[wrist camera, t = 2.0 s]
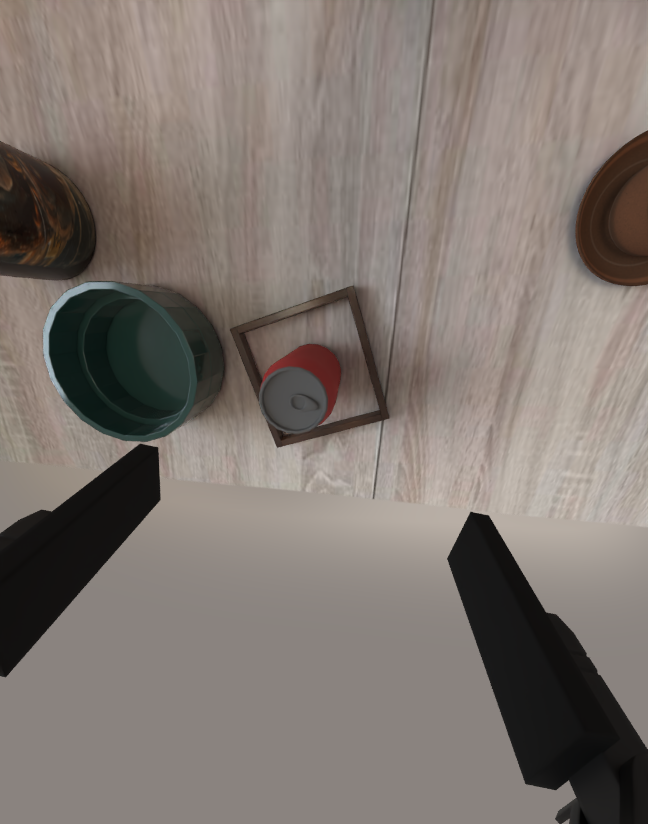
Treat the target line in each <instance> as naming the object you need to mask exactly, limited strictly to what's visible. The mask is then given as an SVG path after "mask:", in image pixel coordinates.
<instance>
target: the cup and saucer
mask: <svg viewBox="0 0 648 824" xmlns="http://www.w3.org/2000/svg"><path fill="white" fill-rule="evenodd" d="M576 243H577V247H578V251H579V254H580V256H581V258H582V260H583V262H584V264H585V265H586V266H587V268H588V269H589V270H590V271H591V272H592V273H594V274H595V275H596V276H598V277H599V278H601V279H603V280H605V281H607V282H610V283H613V284H618V285H624V286H640V285H647V284H648V131H646V132H644V133H642V134H640V135H639V136H637V137H635V138H634V139H632V140H631V141H629V142H628V143H627V144H625V145H624V146H623V147H622V148H620V149H619V150H618V151H617V152H616V153H615V154H614V155H613V156H612V157H611V158H610V159H609V160H608V161H607V162H606V163H605V164H604V165H603V166H602V168H601V169H600V170H599V171H598V173H597V174H596V175H595V177H594V178H593V180H592V181H591V183H590V185H589V186H588V188H587V190H586V192H585V194H584V197H583V199H582V201H581V204H580V207H579V211H578V215H577V221H576Z"/></svg>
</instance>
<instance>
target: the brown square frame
mask: <svg viewBox="0 0 648 824" xmlns="http://www.w3.org/2000/svg"><path fill="white" fill-rule="evenodd" d="M346 297H348V298H349V302H350V305H351V309H352V313H353V316H354V320H355V323H356V327H357V330H358V334H359V338H360V341H361V345H362V348H363V352H364V355H365V359H366V362H367V366H368V370H369V373H370V377H371V380H372V384H373V387H374V391H375V395H376V398H377V402H378V405H379V409H380V410H379V411H375V412H371V413H367V414H364V415H360V416H356V417H352V418H349V419H345V420H341V421H337V422H334V423H330V424H326V425H322V426H319V427H315V428H314V429H312V430H310V431H308V432H305V433H300V434H289V435H285V436H283V434H282V431H281V430H278V429H276V428H275V427H274V426H273V425H271V424H270V423H269V422H268V421H267V419H266V421H267V423H268V426H269V428H270V431H271V433H272V436H273V438H274V441H275V444H276V446H277V448H278V447H282V446H285V445H289V444H293V443H297V442H301V441H305V440H308V439H312V438H316V437H320V436H324V435H328V434H331V433H335V432H339V431H343V430H347V429H351V428H354V427H358V426H362V425H366V424H370V423H374V422H377V421H381V420H385V419H389V414H388V411H387V407H386V403H385V400H384V396H383V392H382V389H381V385H380V381H379V378H378V374H377V371H376V367H375V363H374V360H373V356H372V352H371V349H370V345H369V341H368V338H367V334H366V330H365V327H364V323H363V319H362V316H361V312H360V308H359V305H358V301H357V297H356V294H355V290H354V286H350V287H347V288H344V289H342V290H339V291H336V292H333V293H330V294H327V295H325V296H322V297H319V298H316V299H313V300H310V301H308V302H305V303H302V304H299V305H296V306H293V307H291V308H288V309H285V310H282V311H279V312H276V313H274V314H271V315H268V316H265V317H262V318H259V319H257V320H254V321H251V322H248V323H245V324H243V325H240V326H237V327H234V328H231V329H230V331H231V333H232V336H233V338H234V341H235V343H236V346H237V348H238V351H239V353H240V356H241V358H242V361H243V363H244V366H245V368H246V371H247V373H248V376H249V378H250V381H251V383H252V386H253V388H254V391H255V393H256V396H257V398H258V401H259V392H260V387H261V384H262V379H261V377H260V374H259V372H258V369H257V367H256V364H255V361H254V359H253V356H252V354H251V351H250V349H249V346H248V343H247V341H246V338H245V336H244V333H245V332H248V331H251V330H253V329H256V328H259V327H262V326H265V325H268V324H271V323H274V322H277V321H279V320H282V319H285V318H288V317H291V316H294V315H297V314H300V313H302V312H305V311H308V310H311V309H314V308H317V307H320V306H323V305H325V304H328V303H331V302H334V301H337V300H340V299H343V298H346Z"/></svg>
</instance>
